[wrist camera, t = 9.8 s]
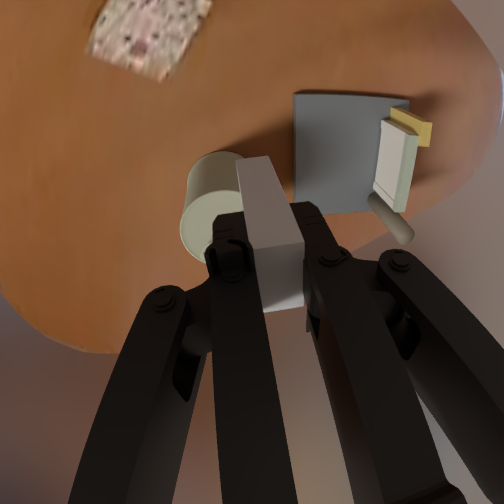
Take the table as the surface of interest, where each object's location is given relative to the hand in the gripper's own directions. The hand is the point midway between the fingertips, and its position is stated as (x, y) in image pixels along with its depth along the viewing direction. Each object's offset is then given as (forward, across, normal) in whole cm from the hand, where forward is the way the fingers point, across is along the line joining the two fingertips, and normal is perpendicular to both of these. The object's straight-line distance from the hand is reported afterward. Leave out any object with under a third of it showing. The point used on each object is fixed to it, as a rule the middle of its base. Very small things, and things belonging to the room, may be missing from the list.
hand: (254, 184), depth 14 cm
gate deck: (+24, +15, -9) cm, 30 cm away
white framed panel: (+22, +19, -9) cm, 31 cm away
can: (+24, -3, -11) cm, 27 cm away
